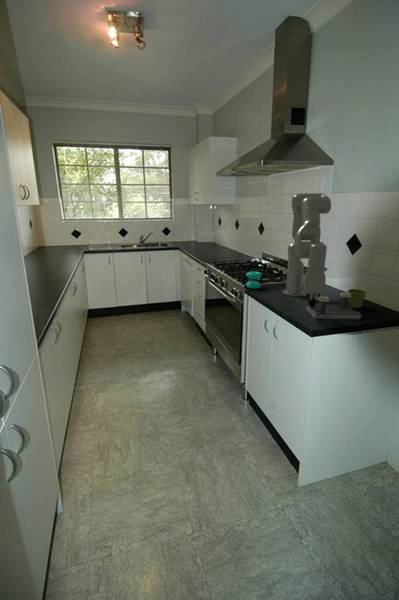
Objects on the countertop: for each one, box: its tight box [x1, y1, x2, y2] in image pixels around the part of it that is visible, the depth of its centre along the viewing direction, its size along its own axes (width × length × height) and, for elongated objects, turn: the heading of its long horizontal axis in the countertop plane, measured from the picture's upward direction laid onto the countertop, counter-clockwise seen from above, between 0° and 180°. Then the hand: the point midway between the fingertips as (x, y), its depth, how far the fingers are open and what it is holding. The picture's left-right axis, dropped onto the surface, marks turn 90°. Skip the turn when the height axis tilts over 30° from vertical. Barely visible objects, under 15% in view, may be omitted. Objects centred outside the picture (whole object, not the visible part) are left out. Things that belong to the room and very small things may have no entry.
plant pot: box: [347, 288, 368, 309], centre depth 171 cm, size 9×9×9 cm
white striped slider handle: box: [339, 292, 352, 308], centre depth 162 cm, size 3×4×8 cm
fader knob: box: [317, 296, 330, 313], centre depth 155 cm, size 3×4×8 cm
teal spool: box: [245, 271, 263, 290], centre depth 210 cm, size 10×10×10 cm
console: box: [306, 304, 362, 320], centre depth 160 cm, size 14×22×3 cm, turn 88°
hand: (311, 306), depth 155 cm, fingers closed
